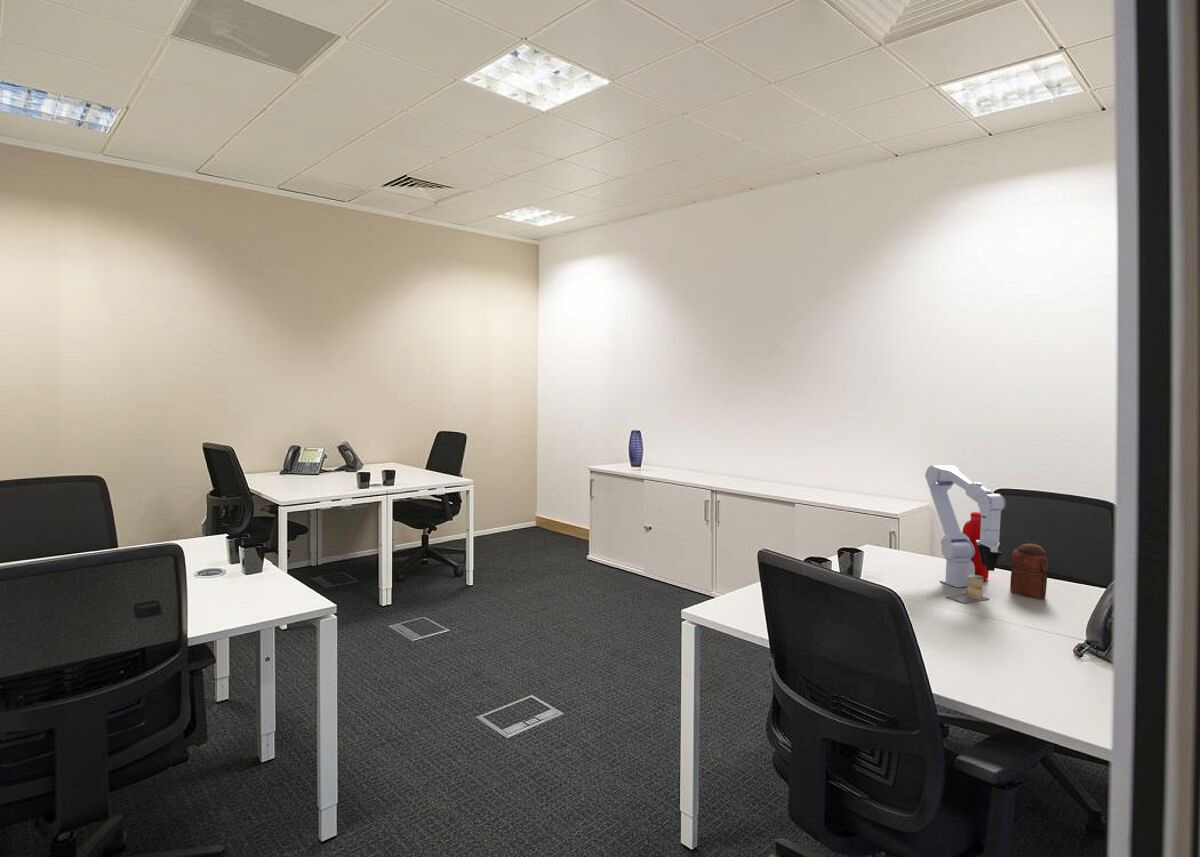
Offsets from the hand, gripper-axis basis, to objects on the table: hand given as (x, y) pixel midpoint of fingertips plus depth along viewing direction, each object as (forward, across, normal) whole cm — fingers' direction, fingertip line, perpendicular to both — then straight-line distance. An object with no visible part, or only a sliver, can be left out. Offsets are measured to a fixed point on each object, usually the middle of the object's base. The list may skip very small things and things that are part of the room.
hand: (987, 567), depth 232 cm
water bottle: (+10, -22, +2) cm, 24 cm away
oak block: (+10, +4, -4) cm, 11 cm away
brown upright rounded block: (+10, -7, +14) cm, 19 cm away
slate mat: (+10, +5, -7) cm, 13 cm away
